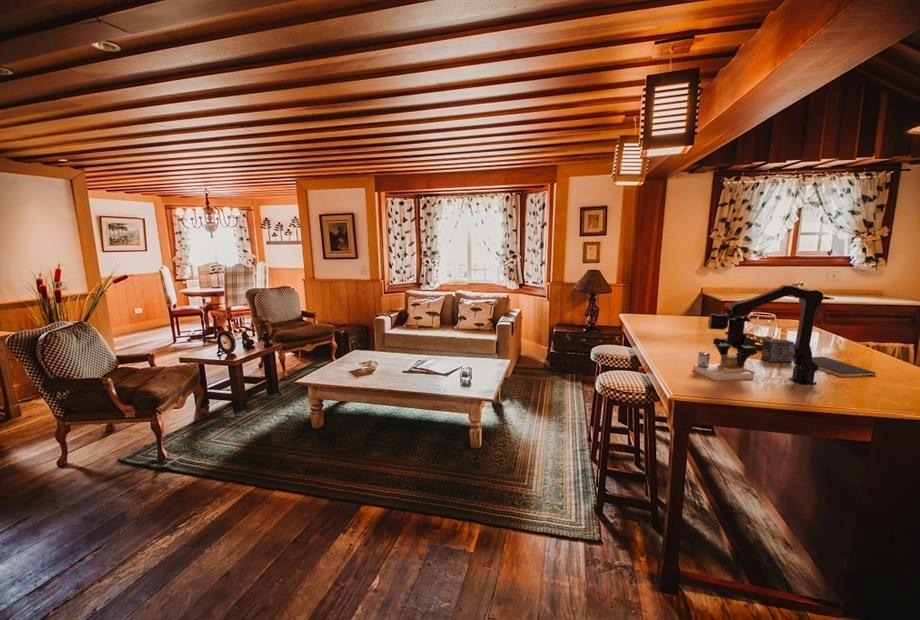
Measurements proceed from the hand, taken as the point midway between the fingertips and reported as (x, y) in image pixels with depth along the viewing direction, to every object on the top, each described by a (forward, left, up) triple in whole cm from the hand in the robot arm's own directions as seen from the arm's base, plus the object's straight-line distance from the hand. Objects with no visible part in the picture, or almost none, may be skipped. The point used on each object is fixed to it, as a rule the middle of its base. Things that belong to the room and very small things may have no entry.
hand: (732, 364), depth 173 cm
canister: (+6, +10, -2) cm, 11 cm away
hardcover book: (+4, -53, -6) cm, 53 cm away
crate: (0, 0, -2) cm, 2 cm away
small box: (+17, -37, -5) cm, 41 cm away
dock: (+2, +3, -5) cm, 6 cm away
